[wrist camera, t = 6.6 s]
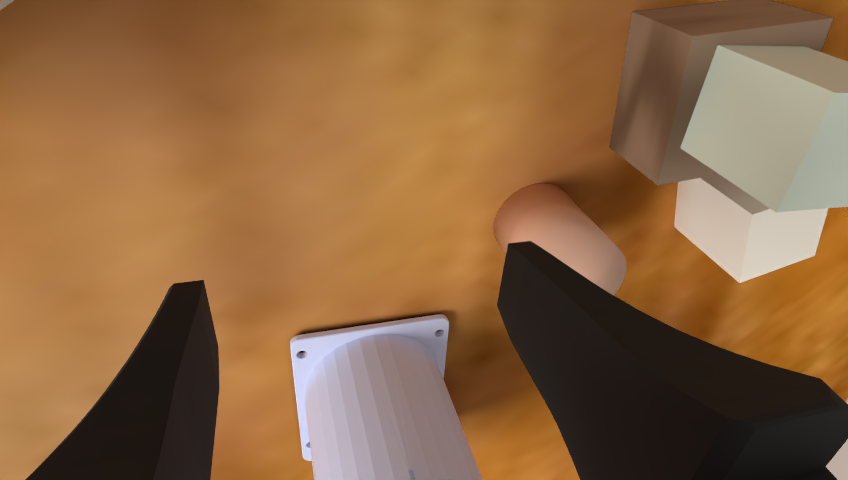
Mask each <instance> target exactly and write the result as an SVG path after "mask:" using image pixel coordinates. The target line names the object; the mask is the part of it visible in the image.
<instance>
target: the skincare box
mask: <svg viewBox="0 0 848 480" xmlns="http://www.w3.org/2000/svg"><path fill="white" fill-rule="evenodd" d="M13 1H14V0H0V10H1V9H3V8H4V7H6V6H7V5H8V4H10V3H11V2H13Z"/></svg>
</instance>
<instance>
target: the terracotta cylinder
mask: <svg viewBox="0 0 848 480" xmlns="http://www.w3.org/2000/svg"><path fill="white" fill-rule="evenodd" d="M494 234H495V238H496V240H497V242H498V243H499V245H500V246H501V248H502V249H503V251H504V252H505V254H506V252H507V247H508V243H516V242H525V241H532V242H533V243H535V244H536V245H538V246H540V247H541V248H543V249H544V250H546V251H547V252H549V253H550V254H552V255H553V256H555V257H556V258H558V259H559V260H560V261H562V262H563V263H565V264H566V265H568V266H569V267H571V268H572V269H574V270H575V271H577V272H578V273H579V274H581V275H582V276H584V277H585V278H587V279H588V280H590V281H591V282H593V283H595V284H596V285H598V286H599V287H601V288H602V289H604V290H606V291H607V292H609V293H610V294H612V295H615V293H616V292H617V291H618V289H619V288H620V286H621V284H622V282H623V280H624V277H625V274H626V267H627V266H626V259H625V256H624V254H623V253H622V251H621V250H620V249H619V248H618V247H617V246H616V245H615V244H614V243H613V242H612V241H611V240H610V239H609V238H608V237H607V236H606V235H605V234H604V233H603V232H602V231H601V229H600V228H599V227H598V226H597V225H596V224H595V223H594V222H593V221H592V220H591V219H590V218H589V217H588V216H587V215H586V214H585V213H584V212H583V211H582V210H581V209H580V208H579V207H578V206H577V205H576V203H575V202H574V201H573V200H572V199H571V198H570V197H569V196H568V195H567V194H566V193H565V192H564V191H563V190H562V189H561V188H559V187H557V186H555V185H552V184H547V183H538V184H533V185H529V186H526V187H524V188H522V189H520V190H518V191H517V192H515V193H514V194H512V195H511V196H510V197H509V198H508V199H507V200H506V201H505V202H504V203H503V205H502V206H501V208H500V209H499V211H498V213H497V215H496V218H495V222H494Z"/></svg>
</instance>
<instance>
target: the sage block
mask: <svg viewBox="0 0 848 480" xmlns="http://www.w3.org/2000/svg"><path fill="white" fill-rule="evenodd" d="M680 148H681V149H682V150H684V151H685V152H687V153H688V154H690V155H691V156H693V157H694V158H696V159H697V160H699V161H700V162H702V163H703V164H705V165H706V166H708V167H709V168H711V169H712V170H714V171H715V172H717V173H718V174H720V175H721V176H723V177H724V178H726V179H727V180H729V181H730V182H731V183H733V184H734V185H736V186H737V187H739V188H740V189H742V190H743V191H745V192H746V193H748V194H749V195H751V196H752V197H754V198H755V199H757V200H758V201H760V202H761V203H763V204H764V205H766V206H767V207H769V208H770V209H772V210H773V211H775V212H788V211H800V210H812V209H825V208H837V207H848V61H845V60H842V59H839V58H836V57H834V56H831V55H828V54H825V53H822V52H819V51H816V50H813V49H810V48H808V47H799V46H744V45H718V46H717V49H716V51H715V54H714V57H713V60H712V62H711V65H710V68H709V70H708V73H707V76H706V79H705V81H704V84H703V87H702V90H701V92H700V95H699V98H698V101H697V103H696V106H695V109H694V112H693V114H692V117H691V120H690V122H689V125H688V128H687V131H686V133H685V136H684V139H683V142H682V144H681V147H680Z"/></svg>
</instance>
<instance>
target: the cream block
mask: <svg viewBox="0 0 848 480" xmlns="http://www.w3.org/2000/svg"><path fill="white" fill-rule="evenodd" d="M827 211H828V208H825V209H812V210H800V211H788V212H775V211H773V210H772V209H770V208H769V207H767V206H766V205H764V204H763V203H761V202H760V201H758V200H757V199H755V198H754V197H752V196H751V195H749V194H748V193H746V192H745V191H743V190H742V189H740V188H739V187H737V186H736V185H734V184H733V183H731V182H730V181H729V180H727V179H726V178H724V177H723V176H721V175H720V174H718V175H712V176H707V177H702V178H696V179H691V180H686V181H680V182H678V189H677V200H676V212H675V224H674V227H675V228H676V229H677V230H678V231H680V232H681V233H682V234H683V235H684V236H685V237H687V238H688V239H689V240H690V241H691V242H692V243H694V244H695V245H696V246H697V247H698V248H699V249H701V250H702V251H703V252H704V253H705V254H706V255H708V256H709V257H710V258H711V259H712V260H713V261H714V262H716V263H717V264H718V265H719V266H720V267H721V268H723V269H724V270H725V271H726V272H727V273H728V274H730V275H731V276H732V277H733V278H734V279H735V280H737V281H738V282H739V283H741V282H744V281H747V280H750V279H752V278H755V277H758V276H760V275H763V274H766V273H769V272H771V271H774V270H777V269H780V268H782V267H785V266H788V265H791V264H793V263H796V262H799V261H801V260H804V259H807V258H810V257H812V256H815V253H816V249H817V246H818V243H819V239H820V236H821V232H822V229H823V225H824V222H825V218H826V215H827Z"/></svg>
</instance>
